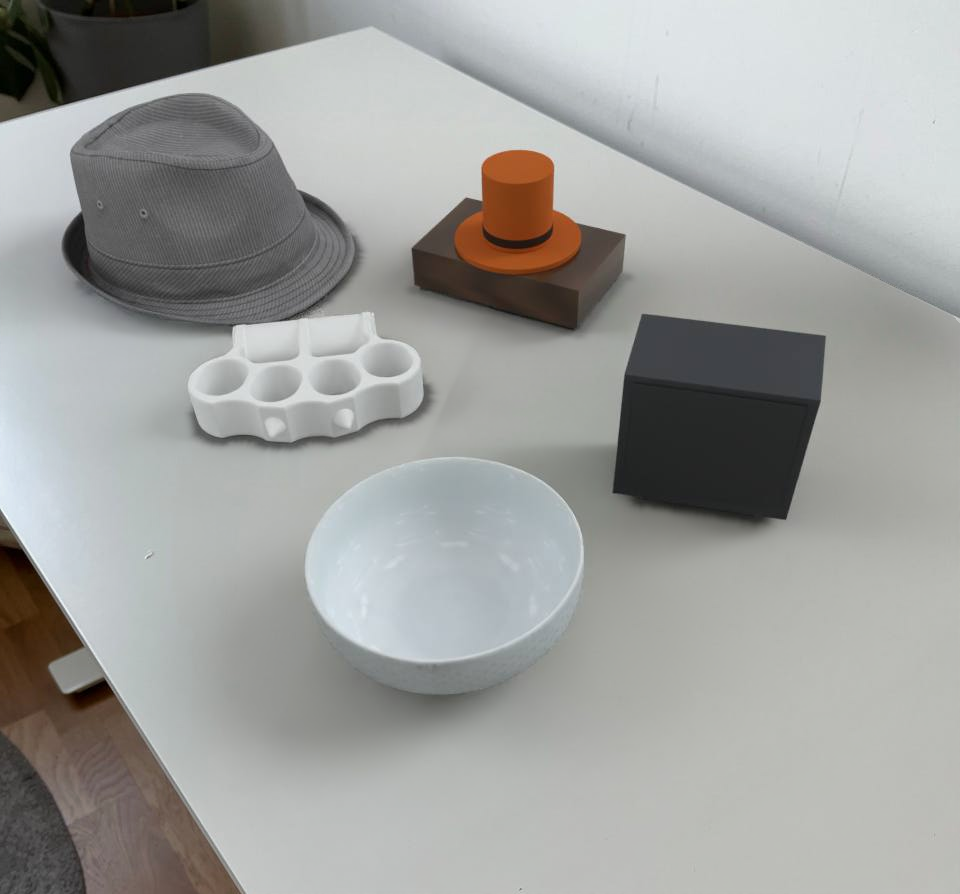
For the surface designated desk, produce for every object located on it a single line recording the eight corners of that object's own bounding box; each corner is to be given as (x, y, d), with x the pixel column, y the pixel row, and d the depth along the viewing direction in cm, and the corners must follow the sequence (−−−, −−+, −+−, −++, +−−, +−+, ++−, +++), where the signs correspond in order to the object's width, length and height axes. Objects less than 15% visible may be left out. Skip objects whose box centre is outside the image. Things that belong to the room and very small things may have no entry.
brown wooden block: (622, 276, 89) (626, 234, 86) (576, 333, 84) (578, 290, 81) (467, 237, 94) (465, 196, 91) (414, 289, 89) (411, 247, 86)
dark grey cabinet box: (627, 442, 74) (642, 313, 66) (790, 465, 72) (826, 335, 64) (610, 505, 70) (623, 376, 62) (782, 533, 68) (820, 402, 59)
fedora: (239, 366, 82) (202, 224, 72) (14, 280, 92) (-45, 145, 82) (403, 235, 95) (390, 99, 85) (190, 172, 104) (157, 44, 95)
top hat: (555, 201, 90) (558, 127, 85) (599, 260, 83) (605, 184, 78) (440, 222, 88) (435, 148, 83) (475, 284, 82) (472, 208, 77)
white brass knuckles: (413, 331, 85) (431, 439, 75) (202, 353, 83) (194, 465, 74) (410, 295, 82) (427, 403, 73) (192, 317, 81) (182, 430, 72)
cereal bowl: (388, 509, 71) (377, 430, 65) (611, 566, 66) (620, 487, 61) (272, 688, 61) (248, 613, 55) (526, 768, 56) (527, 695, 51)
